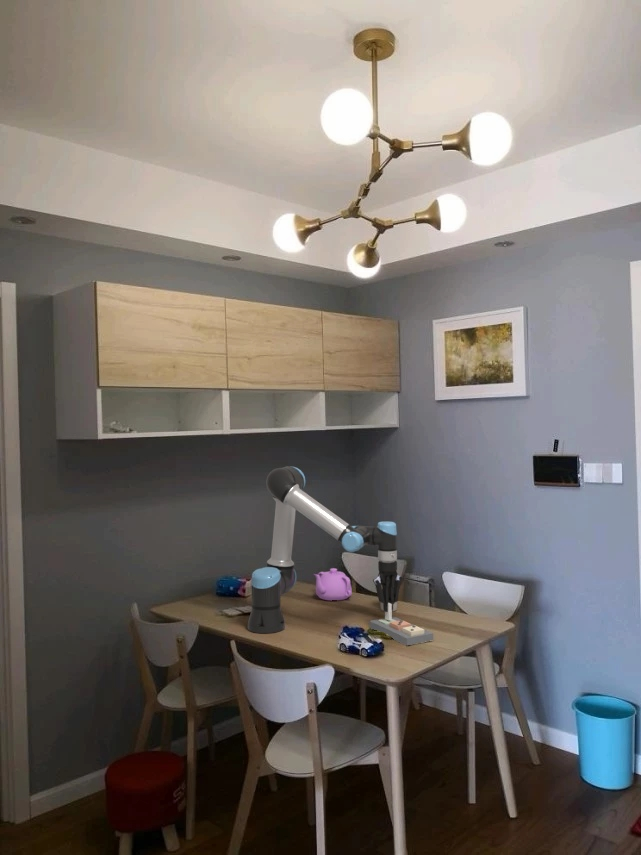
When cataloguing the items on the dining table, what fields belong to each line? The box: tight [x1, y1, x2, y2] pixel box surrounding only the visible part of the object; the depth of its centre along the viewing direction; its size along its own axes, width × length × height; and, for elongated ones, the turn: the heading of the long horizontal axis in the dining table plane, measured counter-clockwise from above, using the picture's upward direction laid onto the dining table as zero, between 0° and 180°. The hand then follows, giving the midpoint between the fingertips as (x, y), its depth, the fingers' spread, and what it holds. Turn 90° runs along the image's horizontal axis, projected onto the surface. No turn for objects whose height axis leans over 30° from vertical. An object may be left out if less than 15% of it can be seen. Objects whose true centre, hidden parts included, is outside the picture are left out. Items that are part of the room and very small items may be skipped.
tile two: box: [402, 625, 425, 636], centre depth 259 cm, size 6×6×3 cm
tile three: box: [390, 619, 412, 630], centre depth 266 cm, size 6×6×3 cm
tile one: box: [378, 618, 396, 625], centre depth 274 cm, size 6×6×3 cm
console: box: [368, 616, 434, 646], centre depth 266 cm, size 12×26×3 cm, turn 28°
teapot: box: [313, 567, 353, 601], centre depth 322 cm, size 22×22×14 cm
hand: (388, 619), depth 274 cm, fingers closed
